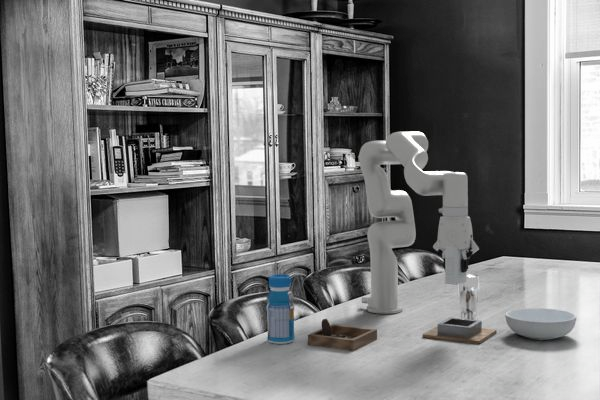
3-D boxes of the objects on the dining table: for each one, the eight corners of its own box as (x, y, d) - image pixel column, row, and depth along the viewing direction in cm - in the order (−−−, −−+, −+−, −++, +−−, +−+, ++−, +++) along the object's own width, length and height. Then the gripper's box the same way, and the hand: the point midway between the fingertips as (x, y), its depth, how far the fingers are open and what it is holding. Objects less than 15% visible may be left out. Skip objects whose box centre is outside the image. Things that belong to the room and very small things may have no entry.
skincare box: (454, 281, 257) (454, 242, 257) (467, 282, 255) (466, 243, 254) (444, 283, 253) (444, 244, 252) (457, 285, 250) (457, 245, 249)
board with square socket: (422, 337, 252) (422, 324, 251) (441, 326, 265) (441, 314, 265) (479, 344, 242) (479, 331, 242) (496, 332, 256) (496, 320, 256)
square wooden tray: (307, 344, 245) (307, 334, 245) (332, 333, 258) (332, 324, 258) (353, 350, 237) (353, 340, 237) (377, 339, 250) (377, 329, 250)
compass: (352, 342, 247) (351, 318, 246) (327, 345, 245) (327, 321, 244) (342, 336, 255) (342, 313, 254) (318, 339, 252) (318, 315, 252)
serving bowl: (576, 330, 257) (576, 309, 257) (575, 347, 238) (576, 323, 237) (508, 326, 264) (508, 305, 264) (501, 342, 244) (502, 319, 244)
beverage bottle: (274, 346, 244) (273, 279, 242) (262, 340, 252) (261, 275, 250) (299, 342, 248) (298, 276, 246) (287, 336, 255) (286, 272, 254)
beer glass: (479, 322, 271) (479, 277, 270) (457, 321, 272) (457, 276, 271) (479, 317, 278) (479, 273, 277) (458, 316, 279) (458, 273, 278)
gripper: (424, 212, 253) (425, 271, 255) (477, 214, 245) (478, 274, 246) (434, 210, 260) (434, 268, 261) (486, 212, 251) (486, 271, 252)
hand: (455, 270), depth 253 cm, fingers closed on skincare box, 4 cm apart
